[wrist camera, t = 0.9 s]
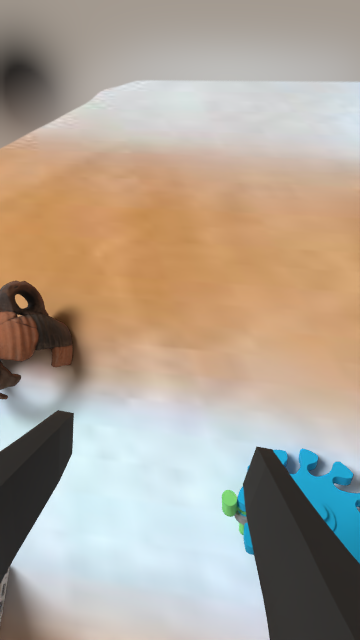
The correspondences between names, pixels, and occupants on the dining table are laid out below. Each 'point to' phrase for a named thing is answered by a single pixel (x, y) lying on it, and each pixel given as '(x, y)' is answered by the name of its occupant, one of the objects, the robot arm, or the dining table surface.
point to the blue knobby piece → (312, 501)
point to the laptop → (3, 592)
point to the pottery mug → (28, 331)
